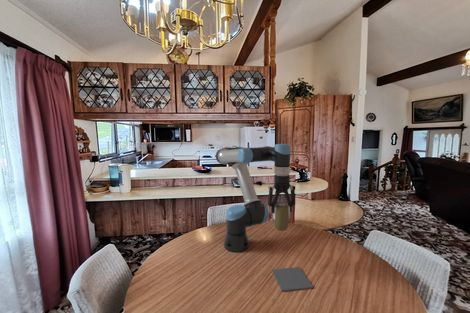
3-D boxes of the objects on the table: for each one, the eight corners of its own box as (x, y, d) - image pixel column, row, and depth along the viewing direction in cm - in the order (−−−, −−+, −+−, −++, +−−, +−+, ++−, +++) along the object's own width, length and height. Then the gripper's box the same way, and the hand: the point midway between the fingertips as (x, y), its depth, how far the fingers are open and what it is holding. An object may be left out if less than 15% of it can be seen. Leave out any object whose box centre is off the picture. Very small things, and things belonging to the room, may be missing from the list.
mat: (282, 291, 90) (282, 290, 90) (272, 270, 104) (272, 269, 104) (313, 288, 92) (313, 286, 92) (299, 267, 106) (299, 266, 106)
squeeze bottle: (289, 226, 113) (290, 193, 111) (288, 233, 105) (289, 197, 103) (274, 224, 115) (274, 192, 113) (272, 230, 108) (272, 196, 106)
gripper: (265, 176, 102) (265, 222, 105) (303, 175, 105) (302, 220, 107) (261, 173, 109) (261, 216, 112) (297, 172, 112) (296, 214, 115)
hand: (281, 218), depth 110 cm, fingers closed on squeeze bottle, 6 cm apart
